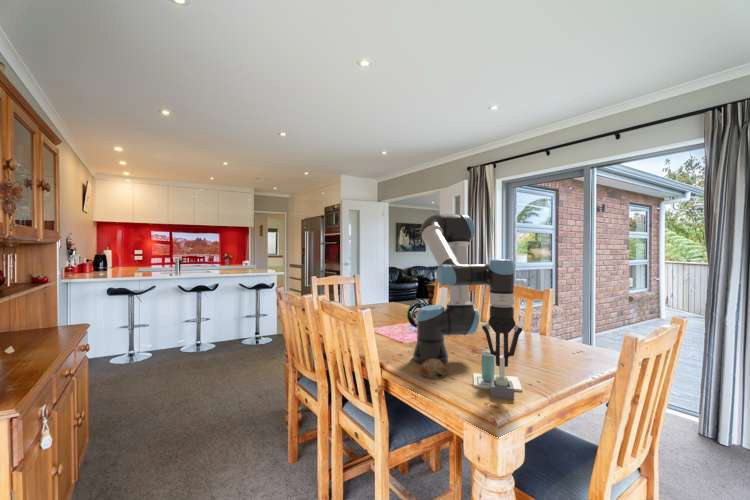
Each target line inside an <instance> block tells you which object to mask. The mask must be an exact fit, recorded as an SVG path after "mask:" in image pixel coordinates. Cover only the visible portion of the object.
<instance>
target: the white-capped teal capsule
mask: <svg viewBox="0 0 750 500" xmlns="http://www.w3.org/2000/svg"><path fill="white" fill-rule="evenodd" d="M481 374H482V379H483V381H484V382H486V383H490V379H494V375H495V355H492V354H491V353H490V349H482V350H481Z"/></svg>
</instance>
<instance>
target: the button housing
mask: <svg viewBox="0 0 750 500" xmlns="http://www.w3.org/2000/svg"><path fill="white" fill-rule="evenodd" d="M489 390H490V398H494V399H503V400H504V399H505V400H512V401H513V400H514V401H515V391H514V387H513V384H512V381H508V387H501V386H495V379H490V389H489Z"/></svg>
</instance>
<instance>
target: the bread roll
mask: <svg viewBox="0 0 750 500" xmlns="http://www.w3.org/2000/svg"><path fill="white" fill-rule="evenodd" d="M419 370H420V374H421V376H422V377H424V378H427V379H432V380H438V379H442V378H445V377H446V376H447V375H448V370H447V367H446V365H445V363H444V364H443V363H442V362H441V361H440V360H438V359H433V358H431V359H428V360H426V361H425V362H423V364H422V363H421V365H420V368H419Z"/></svg>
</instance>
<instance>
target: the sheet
mask: <svg viewBox="0 0 750 500" xmlns="http://www.w3.org/2000/svg"><path fill="white" fill-rule="evenodd" d="M472 374H473V375H472V376H473V388H479V389H489V390H490V383H486V382H484V381H483V379H482V373H476V372H473V373H472ZM498 375H499V374H498ZM498 375H497V374H494V379H495V377H496V376H498ZM505 376H506V377H508V381H512V384H513V387H514V392H519V393H520V392H523V387H522V385H521V381H520V379H519V377H518V376H513V375H512V376H511V375H505Z"/></svg>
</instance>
